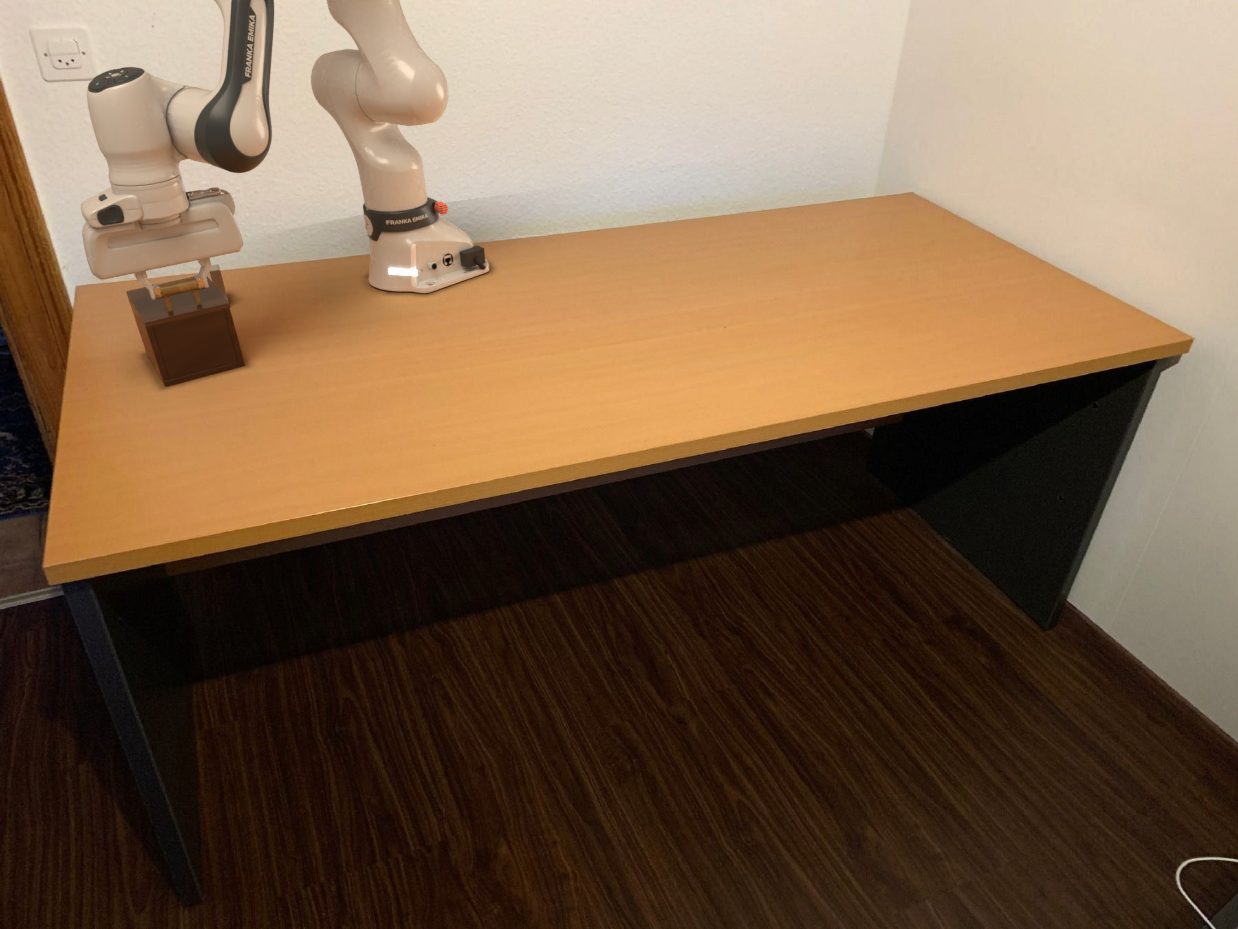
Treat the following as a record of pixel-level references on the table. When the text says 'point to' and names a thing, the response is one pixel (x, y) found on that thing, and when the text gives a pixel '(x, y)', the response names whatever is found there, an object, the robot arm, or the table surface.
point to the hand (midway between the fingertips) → (179, 292)
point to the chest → (192, 346)
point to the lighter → (218, 279)
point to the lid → (177, 301)
